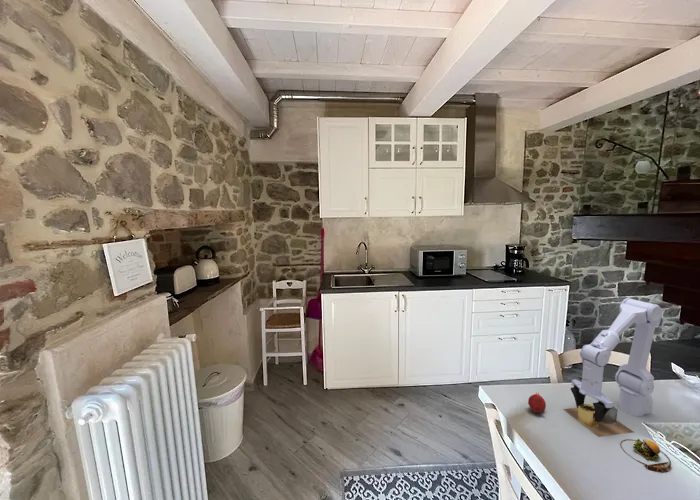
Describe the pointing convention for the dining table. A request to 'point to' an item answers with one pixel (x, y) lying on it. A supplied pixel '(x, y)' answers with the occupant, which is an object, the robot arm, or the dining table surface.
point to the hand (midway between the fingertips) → (588, 414)
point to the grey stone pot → (610, 416)
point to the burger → (650, 454)
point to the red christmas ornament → (537, 403)
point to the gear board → (601, 426)
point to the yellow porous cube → (587, 414)
